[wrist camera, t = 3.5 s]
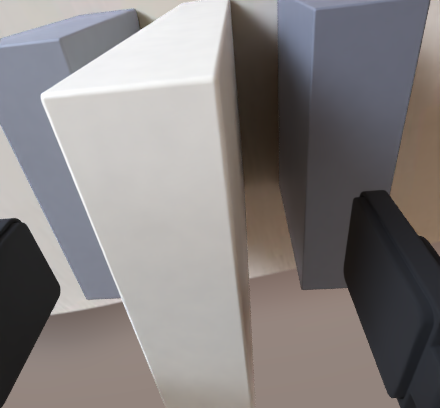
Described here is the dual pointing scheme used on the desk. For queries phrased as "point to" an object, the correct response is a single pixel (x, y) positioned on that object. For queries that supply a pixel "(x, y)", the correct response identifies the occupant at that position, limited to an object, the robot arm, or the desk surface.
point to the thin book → (169, 196)
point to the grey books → (288, 120)
